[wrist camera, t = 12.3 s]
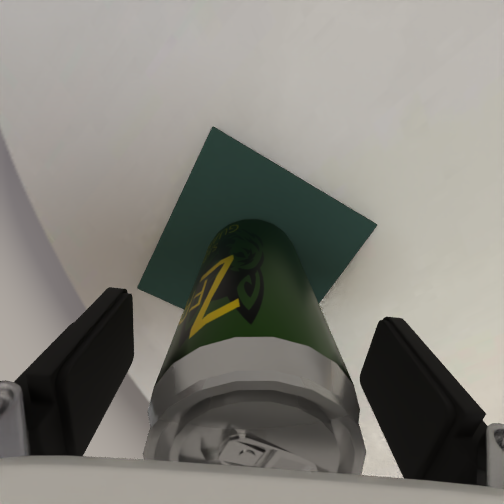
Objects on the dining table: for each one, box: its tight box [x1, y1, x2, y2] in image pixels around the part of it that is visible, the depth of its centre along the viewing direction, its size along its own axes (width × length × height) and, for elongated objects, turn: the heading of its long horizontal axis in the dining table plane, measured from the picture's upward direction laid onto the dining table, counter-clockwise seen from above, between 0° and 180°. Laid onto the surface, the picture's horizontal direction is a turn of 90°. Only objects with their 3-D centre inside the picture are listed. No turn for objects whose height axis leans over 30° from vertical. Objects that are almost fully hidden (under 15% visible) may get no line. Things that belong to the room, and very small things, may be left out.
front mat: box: [137, 127, 377, 309], centre depth 18 cm, size 11×11×1 cm
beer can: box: [143, 219, 366, 475], centre depth 12 cm, size 5×5×12 cm
